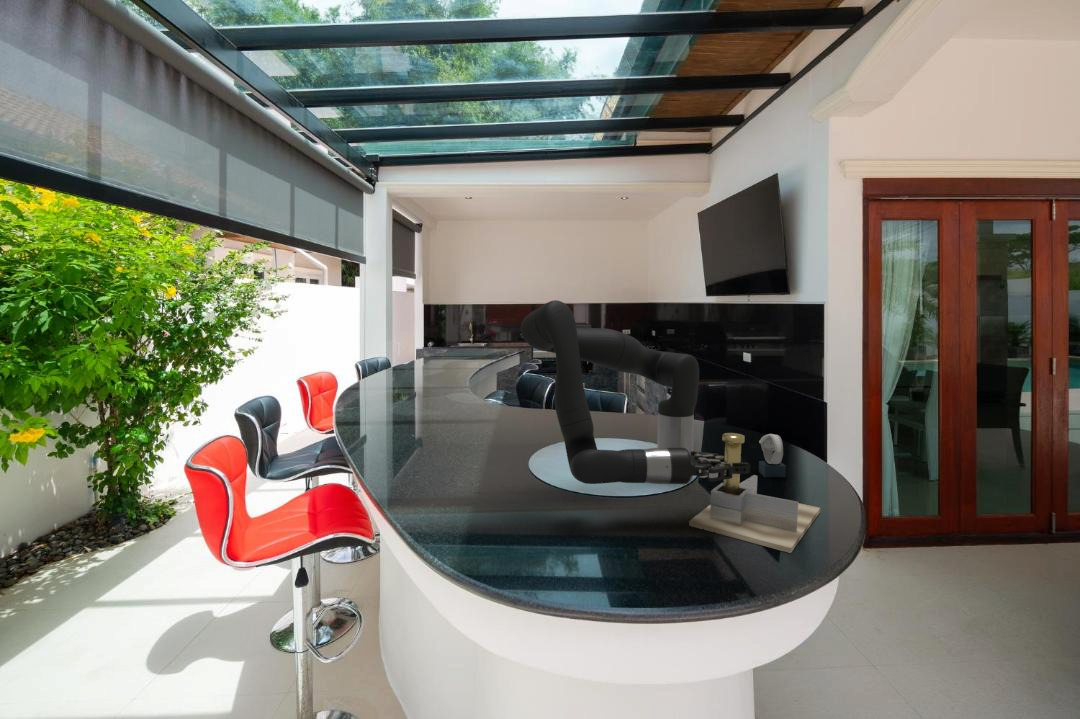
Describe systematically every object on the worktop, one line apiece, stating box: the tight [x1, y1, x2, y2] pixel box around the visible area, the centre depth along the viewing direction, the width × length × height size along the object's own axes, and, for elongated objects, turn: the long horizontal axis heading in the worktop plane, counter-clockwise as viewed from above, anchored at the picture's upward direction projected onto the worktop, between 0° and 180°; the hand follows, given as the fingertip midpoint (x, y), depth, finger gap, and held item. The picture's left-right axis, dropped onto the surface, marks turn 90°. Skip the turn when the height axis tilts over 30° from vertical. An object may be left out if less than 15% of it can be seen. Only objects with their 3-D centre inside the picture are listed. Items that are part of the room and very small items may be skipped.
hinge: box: [709, 474, 799, 532], centre depth 116 cm, size 16×16×6 cm
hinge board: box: [688, 502, 821, 554], centre depth 117 cm, size 25×20×1 cm
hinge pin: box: [722, 432, 746, 496], centre depth 114 cm, size 4×4×16 cm
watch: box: [758, 433, 787, 478], centre depth 146 cm, size 6×8×11 cm
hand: (745, 465), depth 114 cm, fingers closed on hinge pin, 3 cm apart
